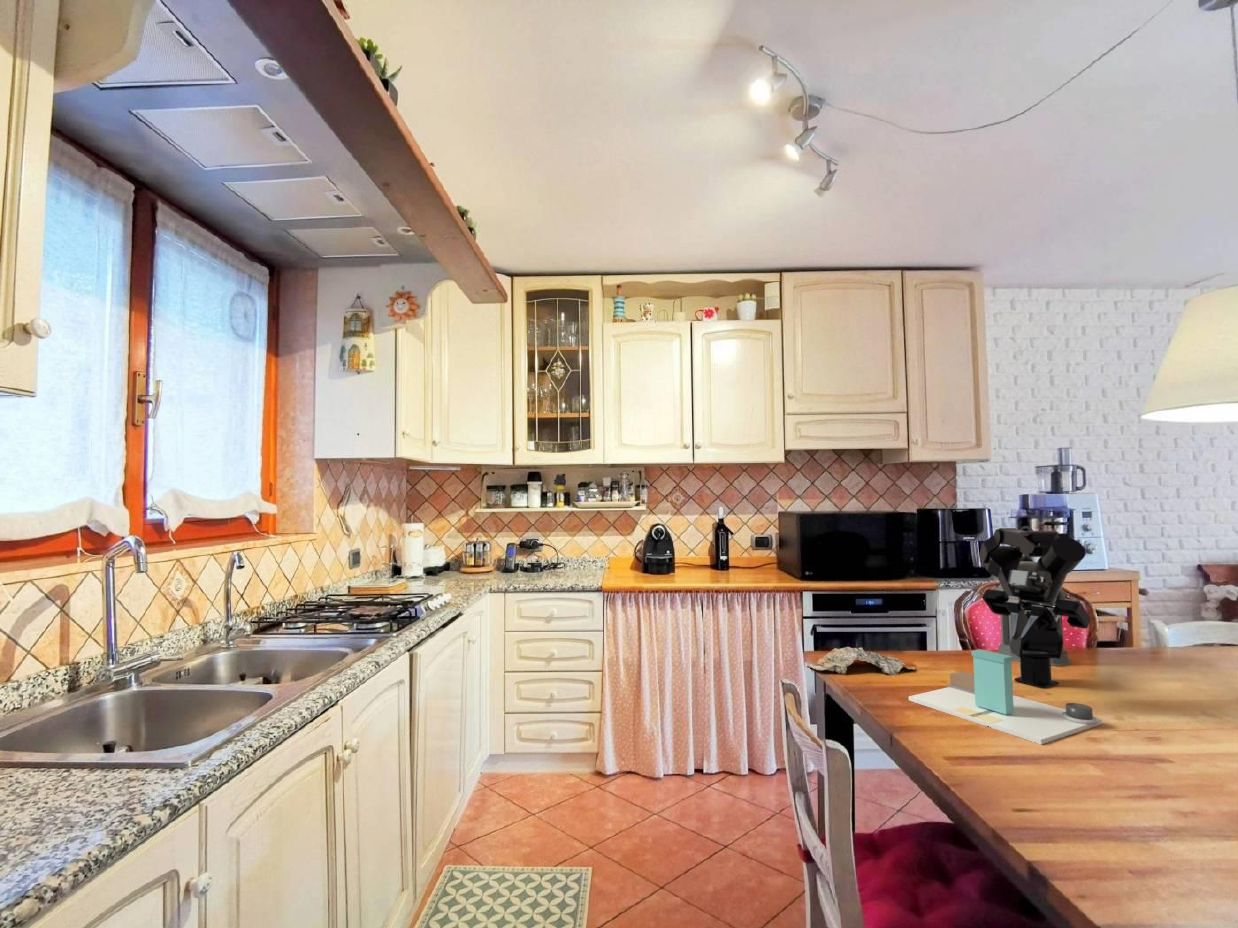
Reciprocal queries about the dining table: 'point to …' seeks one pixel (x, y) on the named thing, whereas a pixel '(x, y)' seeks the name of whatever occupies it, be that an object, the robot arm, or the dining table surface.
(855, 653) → the rock
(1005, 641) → the lantern
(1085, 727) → the console
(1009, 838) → the dining table surface
